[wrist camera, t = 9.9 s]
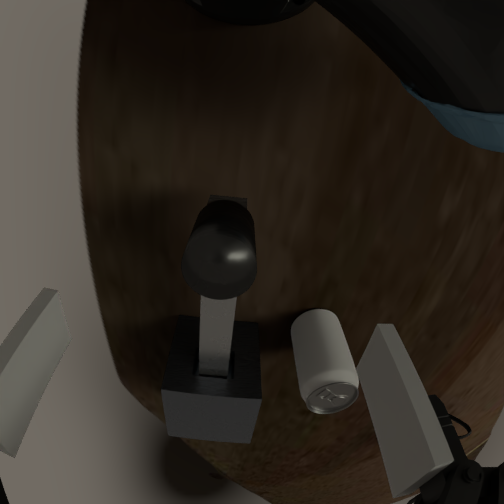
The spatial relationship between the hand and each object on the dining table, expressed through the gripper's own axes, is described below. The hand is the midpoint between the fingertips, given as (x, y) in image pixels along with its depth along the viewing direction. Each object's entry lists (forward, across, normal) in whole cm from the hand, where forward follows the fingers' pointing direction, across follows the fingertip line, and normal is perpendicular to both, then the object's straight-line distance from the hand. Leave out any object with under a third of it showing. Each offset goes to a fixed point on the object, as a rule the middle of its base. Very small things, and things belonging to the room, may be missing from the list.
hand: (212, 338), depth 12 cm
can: (+22, +12, -17) cm, 31 cm away
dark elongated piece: (+16, 0, -12) cm, 20 cm away
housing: (+22, 0, -22) cm, 31 cm away
